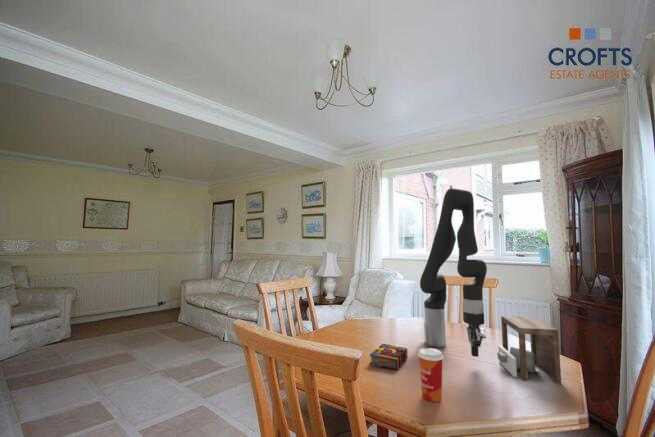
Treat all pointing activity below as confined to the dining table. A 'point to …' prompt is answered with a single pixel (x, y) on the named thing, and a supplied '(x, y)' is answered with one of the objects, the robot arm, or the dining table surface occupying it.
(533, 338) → the brown wooden small table
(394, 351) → the brown patterned box
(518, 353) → the ceramic mug
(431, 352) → the paper cup
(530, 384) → the dining table surface
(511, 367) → the pull-out front
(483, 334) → the seated beast figurine
